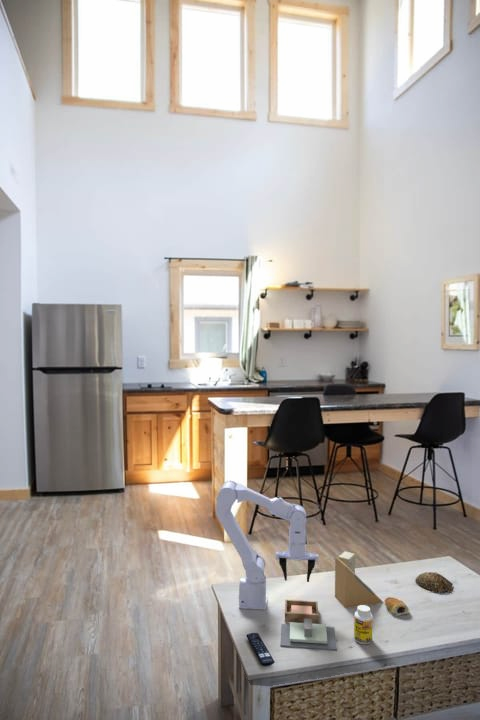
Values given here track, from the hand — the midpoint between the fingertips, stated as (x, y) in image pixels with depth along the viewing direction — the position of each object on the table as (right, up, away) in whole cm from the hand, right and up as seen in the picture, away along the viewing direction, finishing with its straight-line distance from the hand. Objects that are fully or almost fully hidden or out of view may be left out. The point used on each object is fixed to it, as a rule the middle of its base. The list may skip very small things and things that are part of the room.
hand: (296, 579), depth 185 cm
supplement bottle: (+19, -11, -20) cm, 29 cm away
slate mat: (+2, -10, -18) cm, 21 cm away
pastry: (+34, -10, -1) cm, 36 cm away
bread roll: (+54, -10, +17) cm, 58 cm away
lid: (+2, -10, -18) cm, 21 cm away
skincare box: (+20, -9, +15) cm, 27 cm away
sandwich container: (+23, -10, +6) cm, 26 cm away
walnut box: (+1, -10, -6) cm, 11 cm away
